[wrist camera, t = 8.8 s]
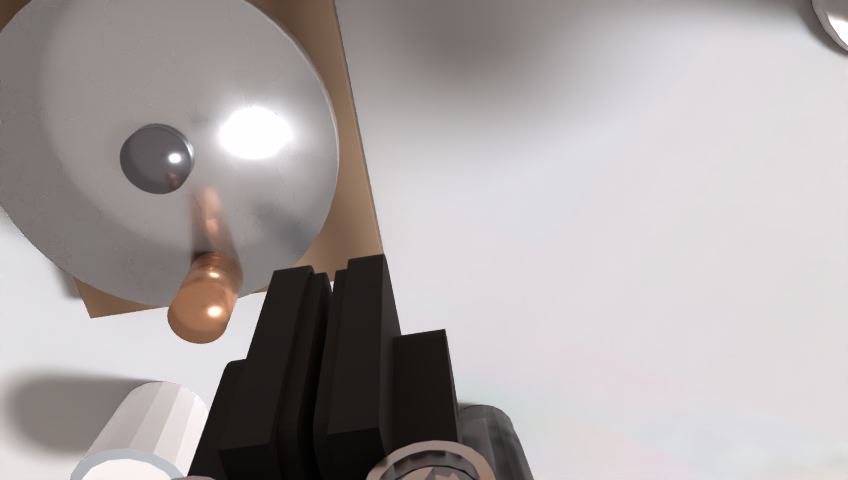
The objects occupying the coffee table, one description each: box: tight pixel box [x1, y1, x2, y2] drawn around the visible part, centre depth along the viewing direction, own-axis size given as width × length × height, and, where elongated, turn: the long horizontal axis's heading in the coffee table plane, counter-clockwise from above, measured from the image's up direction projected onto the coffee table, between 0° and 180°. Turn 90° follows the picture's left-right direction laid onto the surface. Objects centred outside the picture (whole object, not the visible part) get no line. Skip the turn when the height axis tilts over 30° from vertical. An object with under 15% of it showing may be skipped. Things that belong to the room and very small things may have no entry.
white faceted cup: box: [70, 381, 208, 480], centre depth 44 cm, size 7×7×7 cm
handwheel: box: [0, 0, 339, 344], centre depth 32 cm, size 16×16×5 cm
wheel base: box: [0, 0, 384, 318], centre depth 37 cm, size 17×20×5 cm
